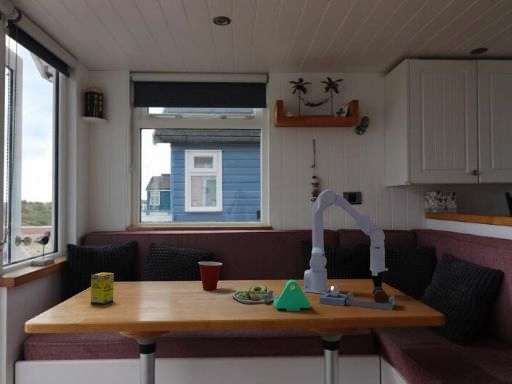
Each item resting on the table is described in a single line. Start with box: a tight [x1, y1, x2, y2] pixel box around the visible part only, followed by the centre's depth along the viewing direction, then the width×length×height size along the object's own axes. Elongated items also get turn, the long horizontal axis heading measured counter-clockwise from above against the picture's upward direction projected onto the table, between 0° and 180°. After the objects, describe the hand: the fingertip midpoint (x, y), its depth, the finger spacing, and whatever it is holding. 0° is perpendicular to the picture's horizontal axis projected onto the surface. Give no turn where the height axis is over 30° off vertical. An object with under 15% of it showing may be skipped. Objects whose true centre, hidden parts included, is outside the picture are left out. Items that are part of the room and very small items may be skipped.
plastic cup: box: [197, 261, 223, 292], centre depth 171 cm, size 11×11×12 cm
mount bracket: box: [345, 290, 396, 311], centre depth 144 cm, size 16×8×4 cm, turn 64°
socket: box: [319, 292, 347, 307], centre depth 148 cm, size 9×9×2 cm
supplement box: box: [90, 272, 115, 306], centre depth 147 cm, size 6×6×11 cm
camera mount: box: [273, 279, 311, 312], centre depth 140 cm, size 12×8×10 cm, turn 95°
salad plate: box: [232, 284, 278, 305], centre depth 153 cm, size 19×18×5 cm
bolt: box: [371, 286, 390, 303], centre depth 151 cm, size 6×5×15 cm
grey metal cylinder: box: [330, 284, 341, 298], centre depth 148 cm, size 3×3×6 cm
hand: (377, 290), depth 160 cm, fingers closed
